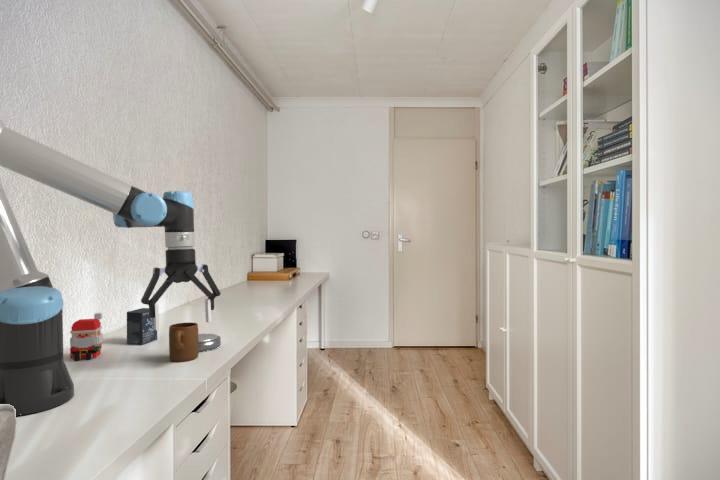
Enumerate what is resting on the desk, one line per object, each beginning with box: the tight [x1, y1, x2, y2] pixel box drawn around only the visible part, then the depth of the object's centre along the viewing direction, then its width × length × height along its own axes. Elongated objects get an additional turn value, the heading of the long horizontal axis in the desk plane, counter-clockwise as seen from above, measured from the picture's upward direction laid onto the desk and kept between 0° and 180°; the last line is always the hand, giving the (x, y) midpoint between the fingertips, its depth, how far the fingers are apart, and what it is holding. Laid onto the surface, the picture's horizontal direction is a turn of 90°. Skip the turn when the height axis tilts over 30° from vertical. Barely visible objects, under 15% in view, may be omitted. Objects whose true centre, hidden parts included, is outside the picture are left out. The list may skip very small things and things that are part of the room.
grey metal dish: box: [198, 333, 221, 353], centre depth 135 cm, size 12×12×3 cm
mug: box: [168, 322, 200, 363], centre depth 120 cm, size 12×8×9 cm, turn 10°
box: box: [126, 307, 158, 346], centre depth 143 cm, size 8×6×11 cm
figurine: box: [69, 312, 103, 362], centre depth 125 cm, size 8×7×12 cm
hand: (183, 325), depth 121 cm, fingers open, 13 cm apart
